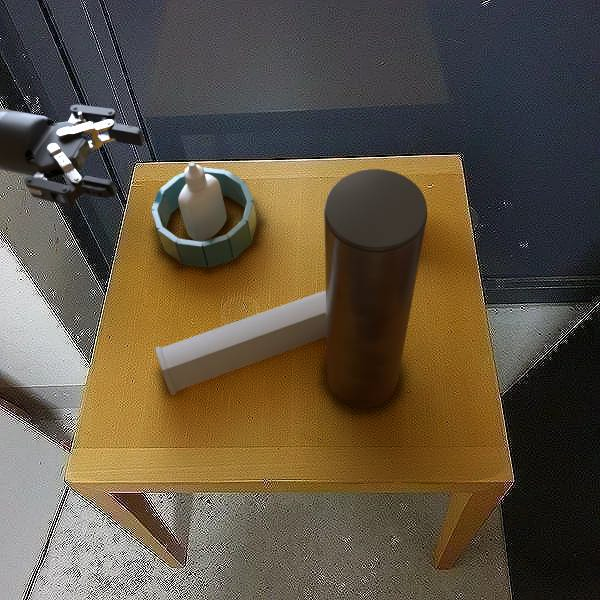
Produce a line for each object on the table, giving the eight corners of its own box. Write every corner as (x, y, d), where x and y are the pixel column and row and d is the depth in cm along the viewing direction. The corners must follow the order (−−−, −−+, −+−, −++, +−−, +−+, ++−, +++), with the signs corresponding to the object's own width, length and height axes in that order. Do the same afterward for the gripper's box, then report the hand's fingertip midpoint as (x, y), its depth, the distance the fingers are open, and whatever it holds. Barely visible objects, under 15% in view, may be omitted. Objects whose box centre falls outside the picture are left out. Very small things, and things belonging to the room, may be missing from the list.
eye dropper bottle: (183, 221, 92) (164, 157, 81) (223, 209, 92) (209, 144, 82) (191, 246, 89) (173, 184, 79) (233, 233, 90) (220, 170, 80)
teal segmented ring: (148, 259, 88) (139, 238, 85) (175, 185, 95) (168, 163, 91) (243, 272, 87) (239, 251, 83) (264, 196, 93) (261, 173, 89)
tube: (356, 268, 82) (152, 339, 77) (375, 294, 78) (161, 370, 73) (360, 302, 85) (165, 372, 81) (378, 328, 81) (174, 403, 77)
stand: (321, 402, 77) (315, 241, 52) (333, 340, 81) (332, 162, 56) (393, 413, 76) (423, 255, 50) (401, 350, 80) (432, 173, 55)
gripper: (-32, 161, 80) (95, 186, 77) (25, 79, 87) (144, 99, 84) (-5, 203, 86) (114, 227, 83) (46, 123, 93) (157, 143, 90)
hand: (129, 163), depth 84 cm, fingers open, 8 cm apart
